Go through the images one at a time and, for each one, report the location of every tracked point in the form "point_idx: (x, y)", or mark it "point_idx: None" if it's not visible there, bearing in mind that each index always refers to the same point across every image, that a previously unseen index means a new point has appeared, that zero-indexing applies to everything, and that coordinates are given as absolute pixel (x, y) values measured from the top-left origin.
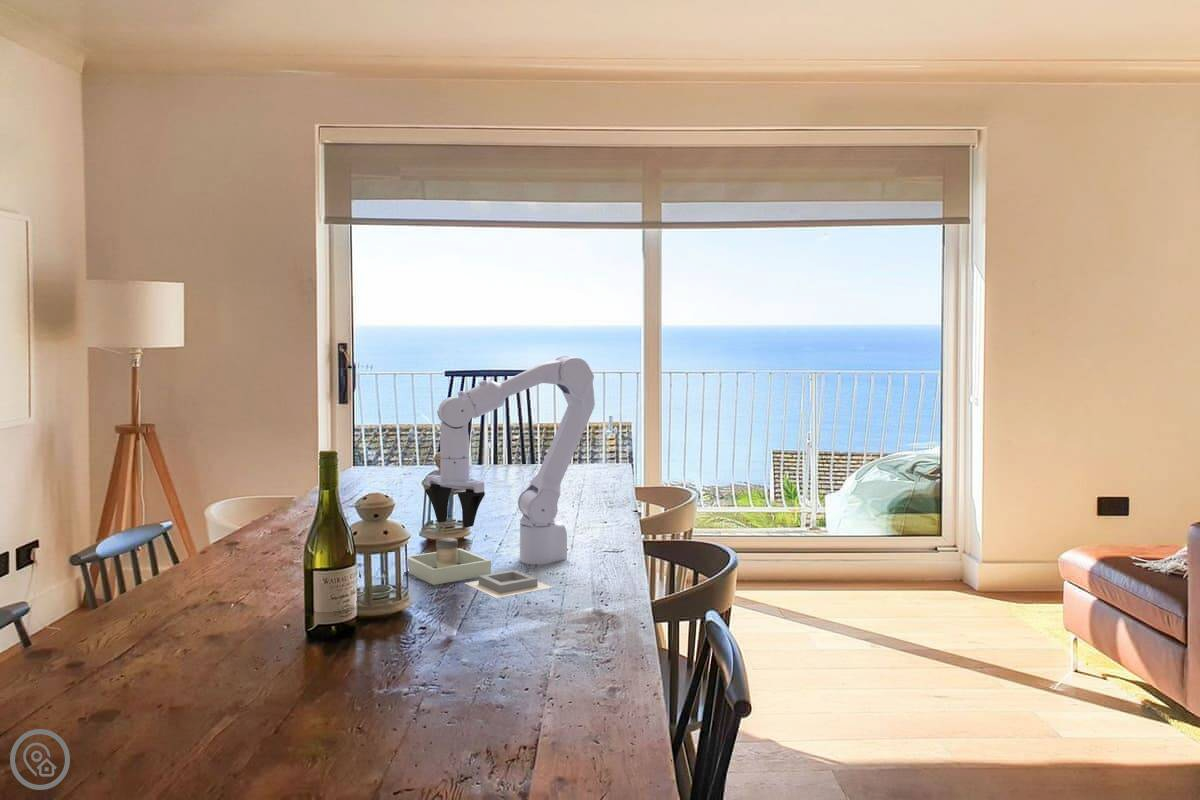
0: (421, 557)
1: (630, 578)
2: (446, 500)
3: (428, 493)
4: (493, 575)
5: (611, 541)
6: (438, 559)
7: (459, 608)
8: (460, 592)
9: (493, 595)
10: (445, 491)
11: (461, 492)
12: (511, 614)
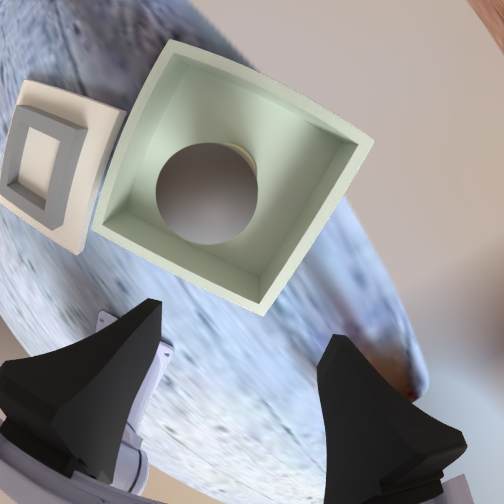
0: (332, 183)
1: (8, 320)
2: (333, 447)
3: (440, 431)
4: (55, 158)
5: (154, 454)
6: (230, 145)
7: (76, 17)
8: (121, 88)
9: (32, 85)
10: (343, 488)
11: (62, 442)
12: (6, 65)
